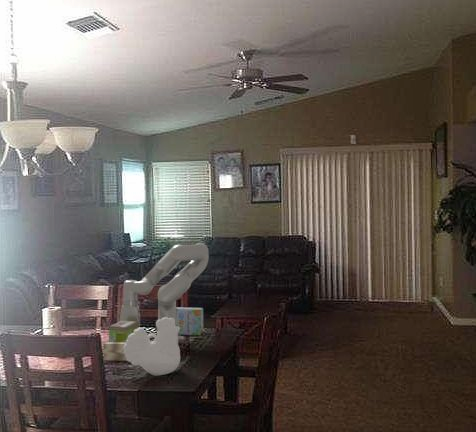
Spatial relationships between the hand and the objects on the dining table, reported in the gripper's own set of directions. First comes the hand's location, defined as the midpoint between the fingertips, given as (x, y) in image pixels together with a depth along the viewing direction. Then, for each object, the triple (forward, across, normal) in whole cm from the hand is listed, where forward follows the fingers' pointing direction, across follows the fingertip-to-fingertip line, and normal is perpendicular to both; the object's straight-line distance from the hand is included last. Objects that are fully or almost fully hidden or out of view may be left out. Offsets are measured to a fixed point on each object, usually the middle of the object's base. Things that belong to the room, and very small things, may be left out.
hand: (129, 337), depth 310 cm
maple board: (+4, -1, +30) cm, 30 cm away
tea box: (+4, -1, +16) cm, 16 cm away
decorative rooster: (+4, -23, +52) cm, 57 cm away
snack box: (+3, -26, -26) cm, 37 cm away
